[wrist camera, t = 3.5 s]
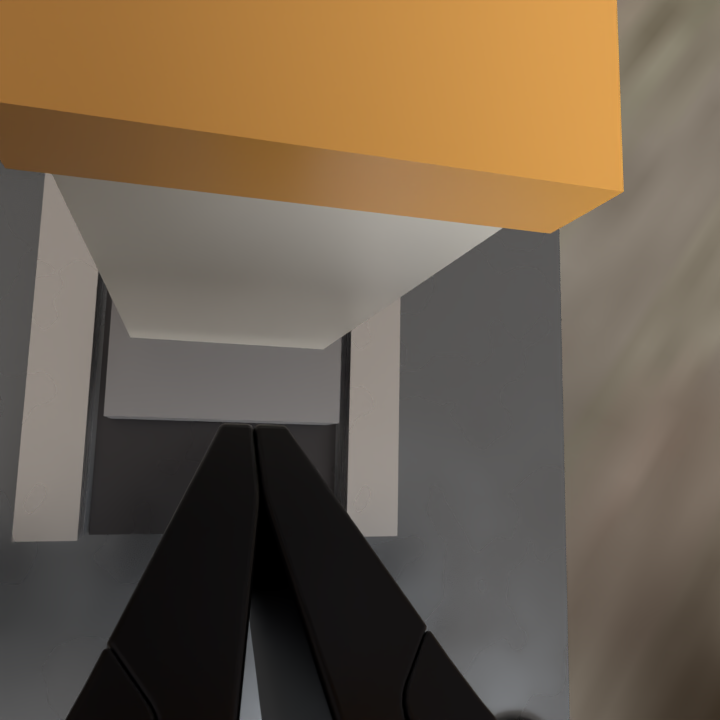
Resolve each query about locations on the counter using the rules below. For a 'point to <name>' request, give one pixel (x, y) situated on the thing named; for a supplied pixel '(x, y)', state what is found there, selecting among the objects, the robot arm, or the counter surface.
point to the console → (320, 443)
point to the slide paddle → (296, 169)
